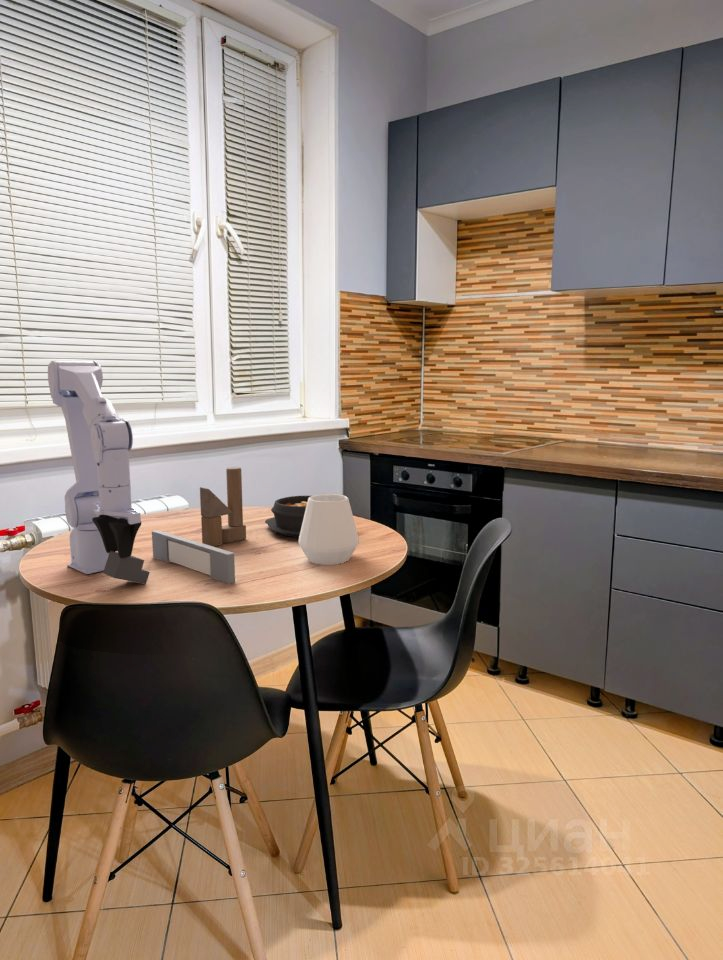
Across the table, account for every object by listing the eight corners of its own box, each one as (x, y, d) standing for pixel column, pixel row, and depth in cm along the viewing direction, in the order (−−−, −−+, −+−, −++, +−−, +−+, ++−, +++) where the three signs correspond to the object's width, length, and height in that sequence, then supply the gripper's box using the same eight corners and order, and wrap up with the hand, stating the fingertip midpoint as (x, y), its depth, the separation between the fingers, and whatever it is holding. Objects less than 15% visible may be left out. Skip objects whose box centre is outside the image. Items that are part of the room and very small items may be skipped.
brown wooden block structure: (201, 545, 161) (198, 471, 158) (237, 536, 169) (235, 466, 166) (210, 548, 159) (207, 472, 156) (246, 539, 167) (244, 467, 164)
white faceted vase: (358, 550, 156) (358, 491, 154) (359, 567, 143) (359, 503, 141) (300, 551, 156) (299, 492, 154) (296, 568, 143) (295, 503, 140)
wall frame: (153, 557, 151) (151, 531, 150) (159, 555, 152) (158, 530, 151) (228, 584, 132) (227, 554, 131) (235, 582, 133) (234, 552, 132)
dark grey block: (102, 573, 130) (110, 550, 131) (134, 579, 135) (141, 557, 136) (114, 578, 127) (121, 555, 128) (145, 584, 132) (153, 562, 133)
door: (169, 560, 147) (168, 540, 146) (173, 559, 148) (172, 539, 147) (210, 575, 136) (209, 553, 136) (215, 574, 137) (214, 552, 137)
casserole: (363, 536, 170) (363, 503, 169) (302, 548, 158) (302, 513, 157) (306, 519, 189) (305, 489, 188) (248, 529, 177) (247, 497, 176)
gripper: (76, 483, 129) (81, 551, 131) (113, 492, 119) (117, 566, 122) (110, 478, 134) (115, 544, 136) (149, 487, 125) (152, 558, 127)
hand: (118, 554), depth 129 cm, fingers closed on dark grey block, 4 cm apart
